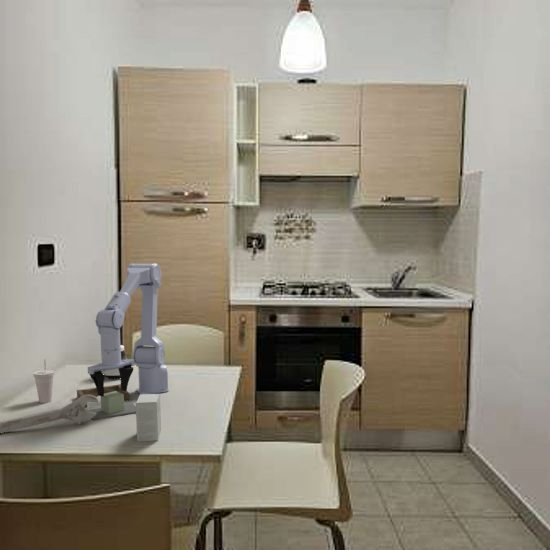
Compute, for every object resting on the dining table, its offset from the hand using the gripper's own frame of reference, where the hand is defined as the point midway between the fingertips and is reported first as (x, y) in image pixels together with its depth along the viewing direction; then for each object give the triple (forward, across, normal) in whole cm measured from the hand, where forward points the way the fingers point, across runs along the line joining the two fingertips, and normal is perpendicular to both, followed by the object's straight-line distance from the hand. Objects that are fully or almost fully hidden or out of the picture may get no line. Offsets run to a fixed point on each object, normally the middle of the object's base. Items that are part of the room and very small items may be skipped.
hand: (112, 393), depth 176 cm
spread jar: (+6, -22, -40) cm, 46 cm away
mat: (+6, 0, 0) cm, 6 cm away
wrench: (+6, +21, -1) cm, 22 cm away
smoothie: (+6, +10, -27) cm, 29 cm away
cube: (+5, 0, 0) cm, 5 cm away
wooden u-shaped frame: (+6, -5, -15) cm, 17 cm away
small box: (+6, +4, +26) cm, 27 cm away
